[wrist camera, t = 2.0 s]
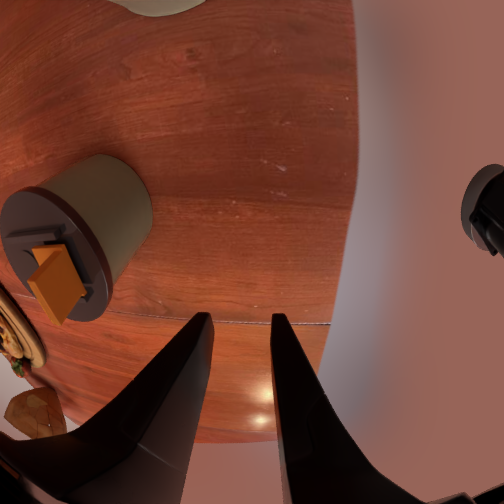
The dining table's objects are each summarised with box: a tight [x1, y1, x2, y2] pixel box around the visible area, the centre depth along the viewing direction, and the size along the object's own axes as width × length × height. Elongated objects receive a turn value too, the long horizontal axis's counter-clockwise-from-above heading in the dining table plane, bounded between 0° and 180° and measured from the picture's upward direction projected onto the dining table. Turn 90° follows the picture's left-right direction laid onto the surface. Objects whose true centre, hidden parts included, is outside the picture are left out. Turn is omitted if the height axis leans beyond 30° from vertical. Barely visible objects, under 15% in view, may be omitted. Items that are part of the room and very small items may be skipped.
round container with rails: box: [0, 154, 153, 322], centre depth 18 cm, size 11×11×9 cm
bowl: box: [4, 387, 67, 439], centre depth 49 cm, size 21×20×20 cm
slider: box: [27, 244, 87, 326], centre depth 13 cm, size 3×4×3 cm
